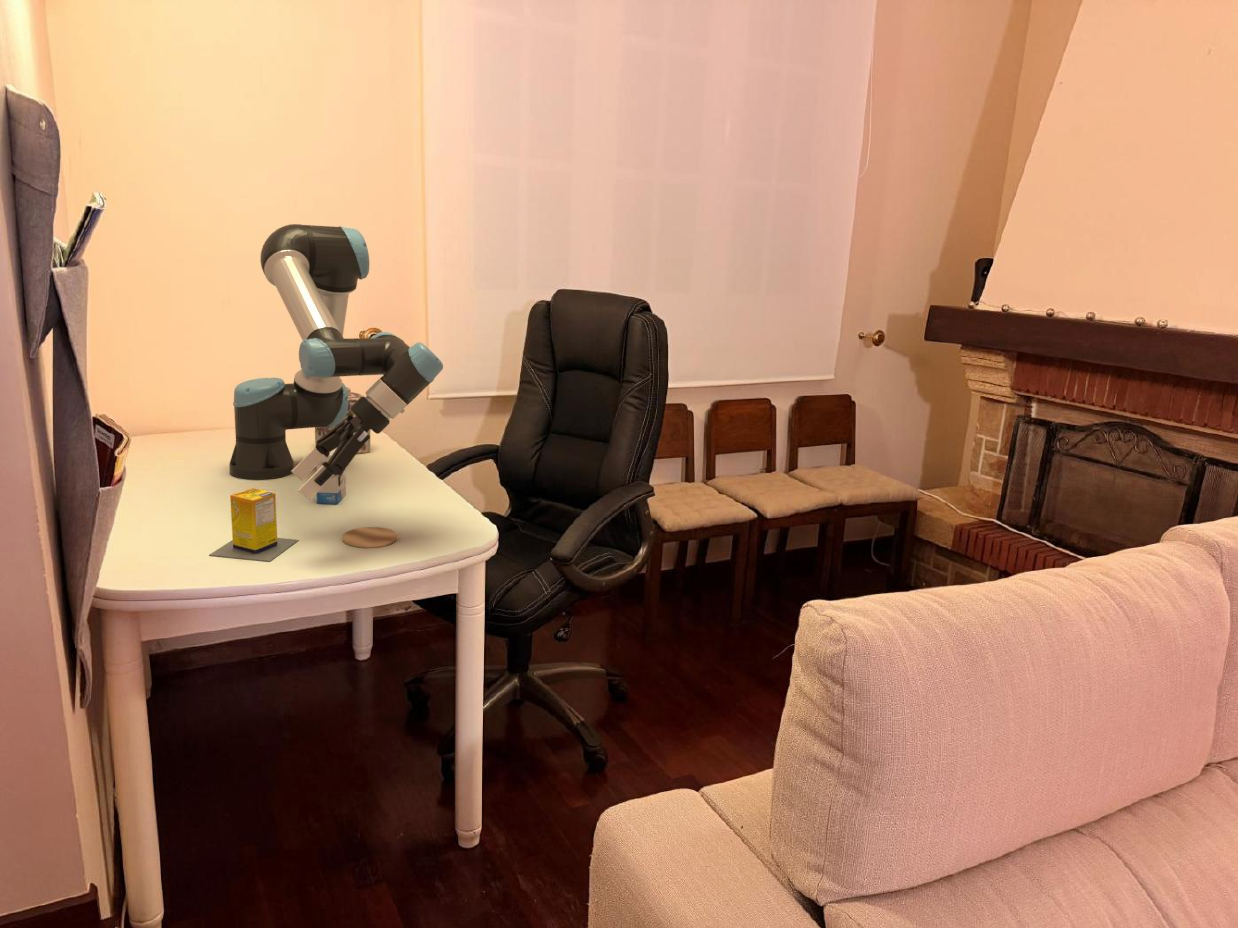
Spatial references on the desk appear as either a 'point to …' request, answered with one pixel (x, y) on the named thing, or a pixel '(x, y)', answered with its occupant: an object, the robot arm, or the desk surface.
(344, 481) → the ink box
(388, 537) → the coaster
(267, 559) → the grey flat square slab
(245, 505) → the supplement box
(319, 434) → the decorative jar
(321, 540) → the desk surface
